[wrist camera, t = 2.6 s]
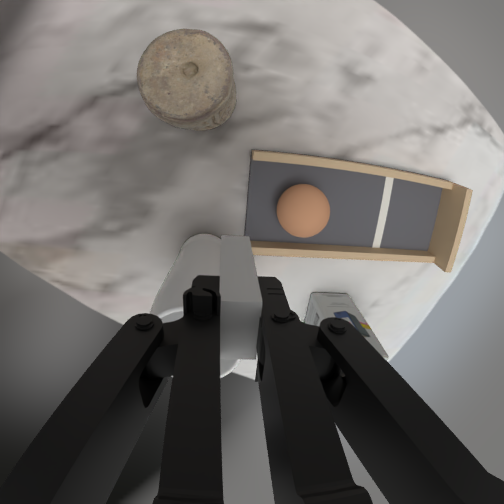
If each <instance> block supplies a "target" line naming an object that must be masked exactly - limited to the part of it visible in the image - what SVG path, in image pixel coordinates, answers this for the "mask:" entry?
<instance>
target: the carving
mask: <svg viewBox="0 0 504 504" xmlns="http://www.w3.org/2000/svg"><path fill="white" fill-rule="evenodd" d="M137 82H138V87H139V91H140V93H141V96H142V98H143V100H144V102H145V104H146V106H147V107H148V108H149V110H150V111H151V112H152V113H153V114H154V115H155V116H157V117H158V118H160V119H161V120H163V121H164V122H166V123H168V124H170V125H172V126H174V127H177V128H182V129H190V130H196V131H204V130H209V129H213V128H216V127H218V126H220V125H221V124H222V123H224V122H225V121H226V120H227V119H228V118H229V117H230V116H231V114H232V113H233V110H234V108H235V104H236V89H235V83H234V79H233V67H232V62H231V59H230V56H229V53H228V52H227V50H226V49H225V47H224V46H223V44H222V43H221V42H220V41H219V40H218V39H217V38H215V37H214V36H212V35H211V34H209V33H207V32H205V31H202V30H192V29H179V30H174V31H170V32H167V33H165V34H163V35H161V36H159V37H157V38H156V39H155V40H153V41H152V42H151V43H150V44H149V46H148V47H147V48H146V50H145V51H144V53H143V55H142V56H141V58H140V61H139V64H138V68H137Z"/></svg>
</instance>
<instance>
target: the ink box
mask: <svg viewBox="0 0 504 504" xmlns="http://www.w3.org/2000/svg"><path fill="white" fill-rule="evenodd" d="M328 317H337V318H342V319H344V320H346V321H348V322H349V323H351V324H352V325H353V326H354V327H355V328H356V329H357V330H358V331H359V332H360V333H361V334H362V335H363V336H364V338H365V339H366V340H367V341H368V342H369V343H370V344H371V345H372V346H373V347H374V348H375V349H376V350H377V351H378V352H379V353H380V354H381V355H382V357H383V358H384V359H385V360H386V361H387V359H388V355H387V353H386V351H385V350H384V348H383V347H382V345H381V344H380V342H379V340H378V339H377V337H376V336H375V334H374V333H373V331H372V330H371V328H370V327H369V325H368V323H367V322H366V320H365V319H364V317H363V316H362V314H361V313H360V311H359V310H358V308H357V307H356V305H355V304H354V302H353V301H352V299H351V298H350V296H349V295H348V294H336V293H312V294H311V297H310V301H309V306H308V310H307V314H306V318H305V322H304V323H306V324H310V325H315V326H320V322H321V321H322V320H323V319H326V318H328Z"/></svg>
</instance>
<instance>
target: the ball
mask: <svg viewBox="0 0 504 504" xmlns="http://www.w3.org/2000/svg"><path fill="white" fill-rule="evenodd" d="M277 217H278V220H279V223H280V224H281V226H282V227H283V229H284V230H285V231H287V232H288V233H290V234H291V235H293V236H296V237H302V238H306V237H311V236H314V235H316V234H318V233H319V232H321V231H322V230H323V229H324V227H325V226H326V225H327V223H328V220H329V217H330V205H329V202H328V200H327V198H326V196H325V195H324V193H323V192H322V191H321V190H319V189H318V188H316V187H314V186H312V185H309V184H298V185H294V186H292V187H290V188H288V189H287V190H286V191H285V192H284V193H283V194H282V195H281V197H280V198H279V201H278V204H277Z"/></svg>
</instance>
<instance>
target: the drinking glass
mask: <svg viewBox="0 0 504 504" xmlns="http://www.w3.org/2000/svg"><path fill="white" fill-rule="evenodd" d="M220 256H221V239H220V238H218V237H216V236H214V235H211V234H197V235H195V236H192V237H191V238H189V239H188V240H187V241H186V242H185V243H184V244H183V246H182V248H181V250H180V253H179V255H178V257H177V259H176V261H175V262H174V264H173V266H172V268H171V270H170V271H169V273H168V275H167V277H166V278H165V280H164V282H163V284H162V286H161V287H160V289H159V291H158V293H157V296H156V298H155V300H154V303H153V305H152V308H151V311H150V314H153V315H156V316H158V317H159V318H160V319H162V323H166V322H172V321H176V320H178V319H180V318H182V317H183V315H184V314H183V294H184V292H185V291H186V290H188V289H189V288H191V286H192V281H193V279H194V278H196V277H197V276H198V275H210V276H220ZM240 361H241V359H220V378H222V377H224V376H225V375H227V374H229V373H230V372H231V371H233V370H234V369H235V368H236V367H237V365H238V364H239V363H240ZM172 377H173V376H172Z"/></svg>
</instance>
